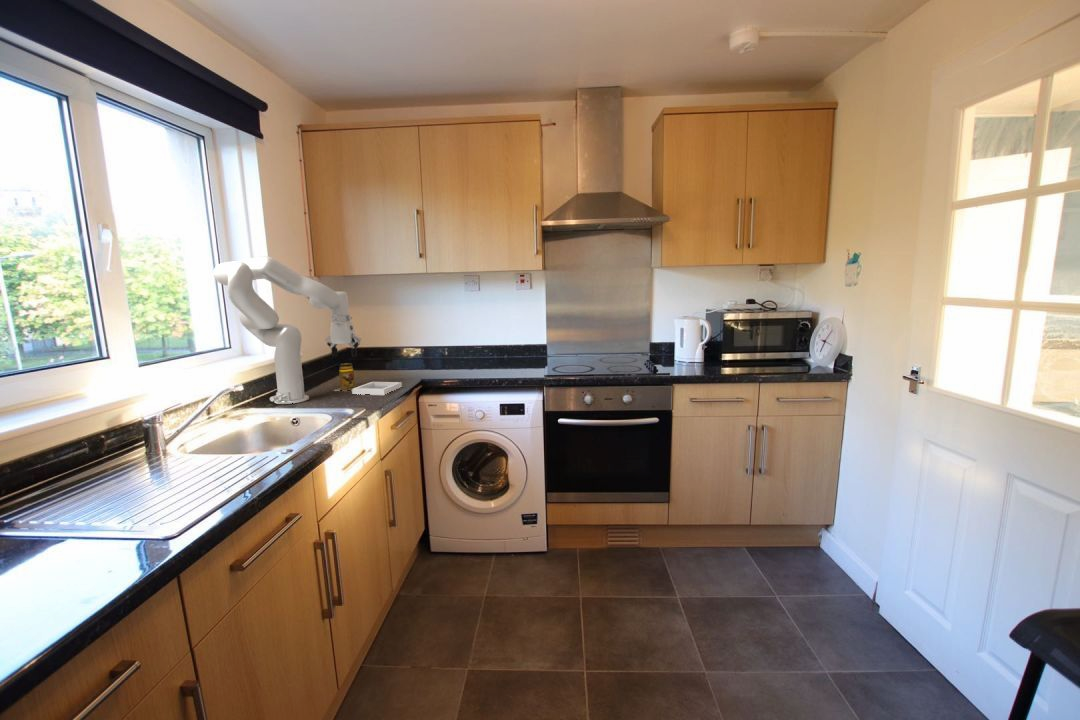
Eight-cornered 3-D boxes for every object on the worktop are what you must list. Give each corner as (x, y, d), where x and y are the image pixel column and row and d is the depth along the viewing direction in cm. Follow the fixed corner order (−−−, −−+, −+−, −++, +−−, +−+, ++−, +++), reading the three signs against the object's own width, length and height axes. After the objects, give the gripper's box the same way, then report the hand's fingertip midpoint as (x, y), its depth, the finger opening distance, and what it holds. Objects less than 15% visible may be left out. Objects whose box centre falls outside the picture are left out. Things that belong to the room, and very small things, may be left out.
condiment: (351, 391, 207) (349, 364, 206) (333, 391, 208) (330, 364, 207) (358, 387, 215) (356, 362, 213) (341, 387, 215) (339, 362, 214)
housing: (384, 395, 197) (383, 389, 197) (352, 394, 200) (352, 388, 200) (401, 387, 213) (401, 382, 212) (372, 387, 216) (371, 381, 215)
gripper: (363, 318, 209) (366, 355, 212) (328, 318, 212) (332, 355, 215) (353, 319, 202) (357, 358, 205) (318, 320, 205) (322, 358, 208)
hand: (344, 356), depth 210 cm, fingers open, 9 cm apart
